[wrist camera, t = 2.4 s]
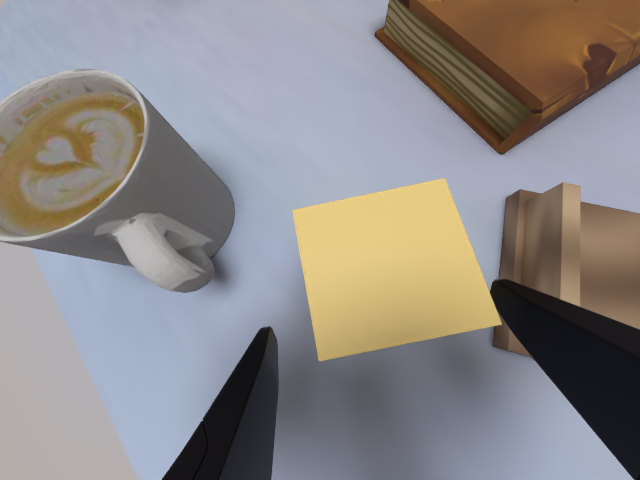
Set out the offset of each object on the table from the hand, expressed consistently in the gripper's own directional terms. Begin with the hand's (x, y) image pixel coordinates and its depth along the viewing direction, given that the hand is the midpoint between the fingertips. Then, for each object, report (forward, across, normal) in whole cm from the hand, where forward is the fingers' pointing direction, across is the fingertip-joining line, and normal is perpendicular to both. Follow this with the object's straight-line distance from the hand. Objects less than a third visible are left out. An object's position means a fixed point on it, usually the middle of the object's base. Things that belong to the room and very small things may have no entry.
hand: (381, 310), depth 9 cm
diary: (+23, -23, -9) cm, 34 cm away
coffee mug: (+13, +13, 0) cm, 19 cm away
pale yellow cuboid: (+7, 0, +5) cm, 9 cm away
